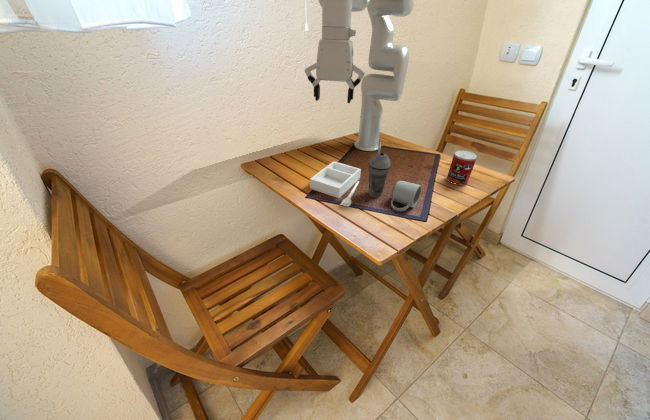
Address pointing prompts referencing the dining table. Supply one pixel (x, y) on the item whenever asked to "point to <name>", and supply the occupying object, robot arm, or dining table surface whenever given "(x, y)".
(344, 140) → the dining table surface
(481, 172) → the dining table surface
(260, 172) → the dining table surface
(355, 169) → the divided tray
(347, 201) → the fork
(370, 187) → the beverage cup
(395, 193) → the ceramic mug
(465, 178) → the canned food
